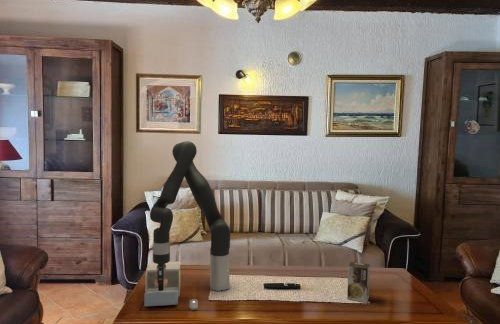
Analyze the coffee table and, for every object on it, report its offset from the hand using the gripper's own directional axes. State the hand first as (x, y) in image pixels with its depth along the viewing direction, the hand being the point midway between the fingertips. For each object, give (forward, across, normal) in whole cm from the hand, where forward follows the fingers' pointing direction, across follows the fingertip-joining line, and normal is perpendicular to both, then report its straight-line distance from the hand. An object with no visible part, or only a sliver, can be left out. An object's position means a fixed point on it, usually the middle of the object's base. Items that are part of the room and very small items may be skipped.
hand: (161, 287), depth 175 cm
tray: (+5, 0, 0) cm, 5 cm away
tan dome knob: (-1, 0, 0) cm, 1 cm away
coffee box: (+6, -8, -90) cm, 91 cm away
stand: (+6, -9, -14) cm, 18 cm away
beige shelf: (+6, +12, 0) cm, 13 cm away
